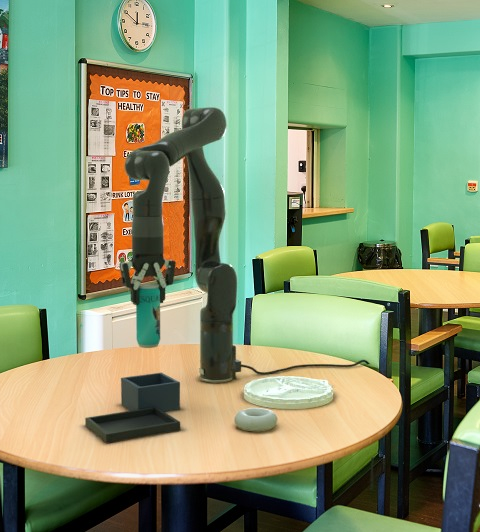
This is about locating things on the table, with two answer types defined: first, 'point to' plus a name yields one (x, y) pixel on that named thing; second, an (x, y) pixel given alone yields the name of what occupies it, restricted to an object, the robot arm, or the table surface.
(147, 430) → the tray
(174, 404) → the caddy
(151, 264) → the robot arm
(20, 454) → the table surface
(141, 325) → the beverage can
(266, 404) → the medallion
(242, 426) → the donut
